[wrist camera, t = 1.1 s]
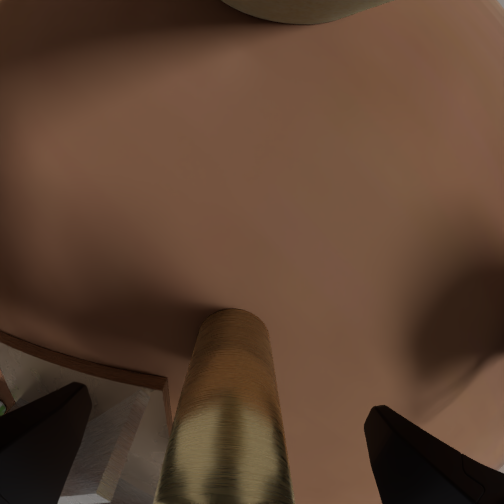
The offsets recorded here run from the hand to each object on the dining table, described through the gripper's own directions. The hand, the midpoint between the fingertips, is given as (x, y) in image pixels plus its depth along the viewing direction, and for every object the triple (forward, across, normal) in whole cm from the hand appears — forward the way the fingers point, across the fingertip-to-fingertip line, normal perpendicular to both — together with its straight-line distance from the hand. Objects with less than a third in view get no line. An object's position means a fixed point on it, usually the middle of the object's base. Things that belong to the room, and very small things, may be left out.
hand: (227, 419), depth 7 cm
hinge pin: (+4, 0, 0) cm, 5 cm away
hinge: (+4, +9, +10) cm, 14 cm away
